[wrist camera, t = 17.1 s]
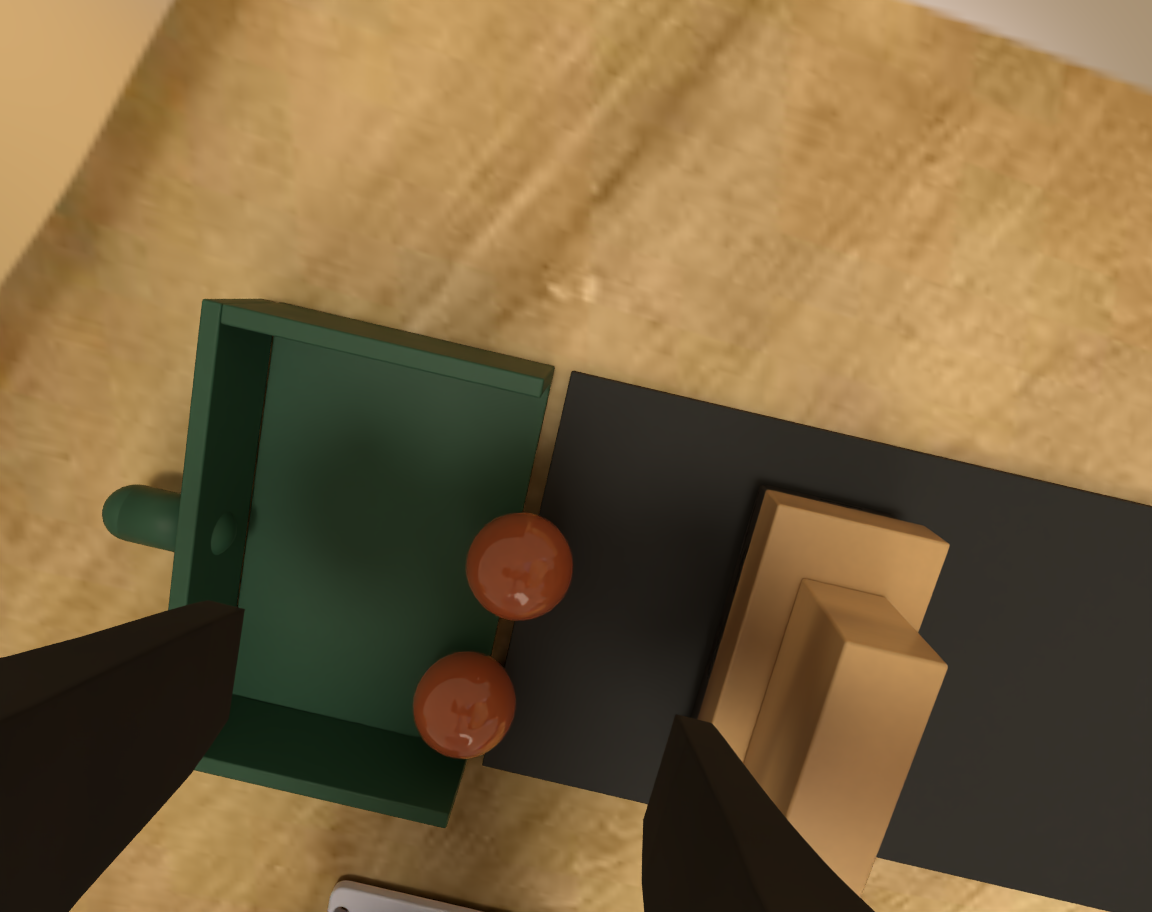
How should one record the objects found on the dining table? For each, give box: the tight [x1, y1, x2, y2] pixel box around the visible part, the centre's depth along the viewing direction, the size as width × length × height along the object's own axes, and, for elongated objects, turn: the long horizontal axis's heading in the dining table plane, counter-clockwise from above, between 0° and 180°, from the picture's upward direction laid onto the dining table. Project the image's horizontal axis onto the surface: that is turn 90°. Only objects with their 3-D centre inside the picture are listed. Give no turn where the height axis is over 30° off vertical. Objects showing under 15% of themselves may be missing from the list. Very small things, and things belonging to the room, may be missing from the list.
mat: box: [482, 371, 1152, 912], centre depth 22 cm, size 13×26×1 cm, turn 77°
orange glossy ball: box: [465, 512, 574, 621], centre depth 20 cm, size 3×3×3 cm
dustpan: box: [102, 299, 555, 828], centre depth 20 cm, size 11×13×3 cm
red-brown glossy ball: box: [412, 650, 516, 759], centre depth 21 cm, size 3×3×3 cm
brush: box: [691, 485, 949, 898], centre depth 19 cm, size 10×4×6 cm, turn 167°
